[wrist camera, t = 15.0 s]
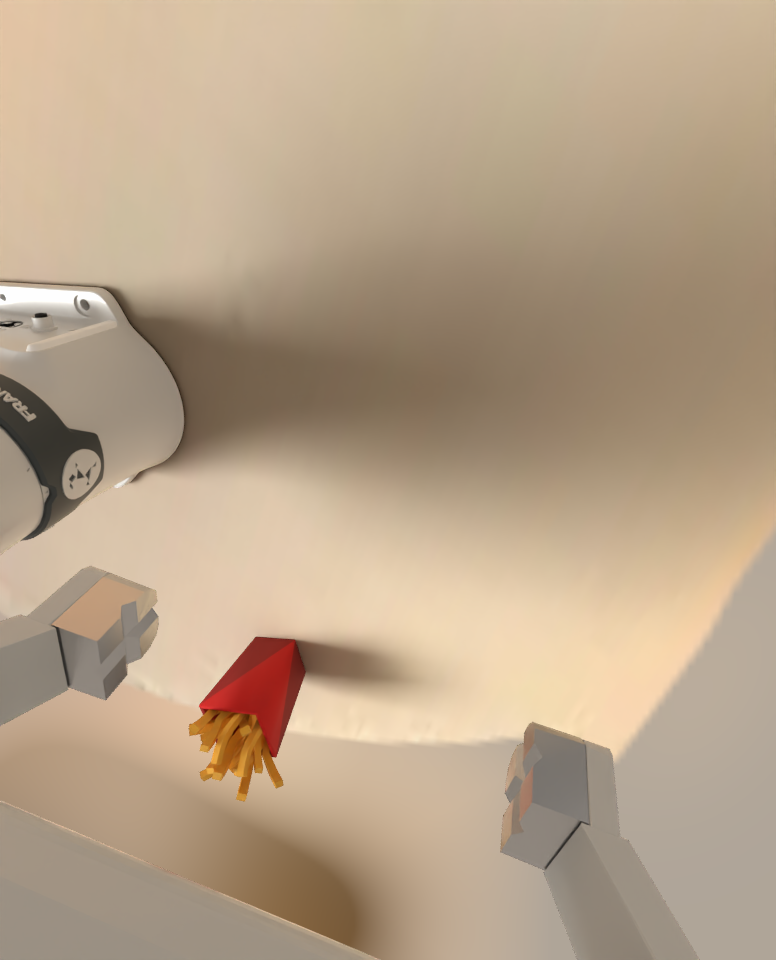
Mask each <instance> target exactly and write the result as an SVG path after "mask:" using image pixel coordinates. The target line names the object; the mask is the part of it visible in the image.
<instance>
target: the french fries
mask: <svg viewBox="0 0 776 960" xmlns="http://www.w3.org/2000/svg"><path fill="white" fill-rule="evenodd" d="M305 673H306V671H305V668H304V665H303V662H302V659H301V656H300V653H299V650H298V647H297V644H296V641H295V640H291V639H277V638H263V637H255V638H254V640H253V641H252V642H251V643H250V644H249V646H248V647H247V648H246V649H245V650H244V652H243V653H242V654H241V655H240V656H239V658H238V659H237V660H236V661H235V662H234V664H233V665H232V666H231V667H230V669H229V670H228V671H227V672H226V673H225V675H224V676H223V677H222V678H221V679H220V681H219V682H218V683H217V684H216V685H215V687H214V688H213V689H212V690H211V691H210V693H209V694H208V695H207V696H206V697H205V699H204V700H203V701H202V702H201V703H200V705H199V707H200V709H201V711H202V713H203V716H202V717H201V718H200V719H199V720H197V721H196V722H194V723H193V724H190V725H189V734H190V736H191V735H197V734H201V741H202V744H201V747H200V751H204V752H208V751H209V750H210V749H211V748H212V746H213V745H214V743H215V742H216V746H215V749H214V753H213V757H212V761H211V762H210V764H209V765H208V766H207V768H206V769H205V770H203V771H201V772H200V776H201V779H202V780H203V781H205V780H207V779H209V778H211V777H212V779H215V780H220V781H221V780H222V778H223V777H224V775H225V773H226V772H227V770H228V768H229V769H230V770H231V772H232V773H234V775H235V776H237V777H242V778H241V782H240V786H239V790H238V794H237V798H236V799H237V800H240V801H245V799H246V796H247V793H248V788H249V783H250V779H251V774H252V770H253V765H254V770H255V773H262V771H263V765H262V757H263V760H264V763H265V765H266V768H267V770H268V773H269V776H270V777H271V780H272V782H273V784H274V786H275V788H278V787H281V786H283V780H282V778H281V776H280V775H279V773H278V771H277V769H276V767H275V764H274V762H273V760H272V757H277V754H278V751H279V748H280V745H281V742H282V739H283V736H284V733H285V731H286V728H287V725H288V722H289V719H290V716H291V713H292V710H293V707H294V705H295V702H296V699H297V696H298V693H299V690H300V687H301V684H302V681H303V679H304V676H305ZM203 733H204V734H203Z"/></svg>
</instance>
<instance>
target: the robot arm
mask: <svg viewBox="0 0 776 960" xmlns="http://www.w3.org/2000/svg"><path fill="white" fill-rule="evenodd" d="M87 302H88V303H89V306H90V307H89V306H88V304H87ZM183 429H184V411H183V405H182V400H181V396H180V393H179V390H178V388H177V385H176V383H175V381H174V378H173V376H172V375H171V373H170V371H169V369H168V368H167V366H166V364H165V363H164V361H163V360H162V359H161V357H160V356H159V355H158V354H157V352H156V351H155V350H154V349H153V348H152V347H151V346H150V345H149V344H148V343H147V342H146V341H145V340H144V339H143V338H142V337H141V336H140V335H139V334H138V333H137V332H136V331H135V330H134V329H133V327H132V326H131V325H130V324H129V322H128V320H127V318H126V316H125V315H124V313H123V311H122V309H121V308H120V306H119V304H118V303H117V301H116V300H115V298H114V297H113V296H112V295H111V294H110V293H109V292H108V291H107V290H105V289H103V288H99V287H82V286H65V285H48V284H30V283H13V282H0V555H1V554H3V553H4V552H5V551H7V550H8V549H9V548H11V547H12V546H14V545H15V544H16V543H18V542H19V541H22V540H28V539H31V538H34V537H36V536H37V535H39V534H41V533H42V532H44V531H46V530H48V529H50V528H51V527H53V526H54V524H56V523H57V522H58V521H60V520H61V519H63V518H64V517H65V516H67V515H68V514H70V513H71V512H72V511H74V510H75V509H76V508H77V507H78V506H79V505H81V504H83V503H85V502H87V501H88V500H90V499H92V498H94V497H96V496H97V495H99V494H101V493H103V492H104V491H106V490H108V489H110V488H111V487H115V488H120V487H122V486H124V485H126V484H128V483H129V482H131V481H132V480H133V479H134V478H135V476H136V475H137V474H138V473H139V472H141V471H143V470H145V469H148V468H150V467H153V466H155V465H158V464H160V463H162V462H164V461H165V460H167V459H168V458H169V457H170V456H171V455H172V454H173V453H174V452H175V450H176V449H177V447H178V445H179V443H180V441H181V438H182V434H183ZM156 603H157V594H156V590H153V589H151V588H148V587H145V586H143V585H140V584H138V583H135V582H132V581H130V580H127V579H125V578H122V577H119V576H117V575H114V574H112V573H109V572H106V571H103V570H101V569H98V568H95V567H92V566H89V567H87V568H84V569H82V570H80V571H79V572H78V573H77V574H76V575H75V576H73V577H72V578H71V579H70V580H69V581H68V582H66V583H65V584H64V585H63V586H62V587H61V588H59V589H58V590H57V591H56V592H55V593H54V594H52V595H51V596H50V597H49V598H48V599H47V600H45V601H44V602H43V603H42V604H41V605H40V606H38V607H37V608H36V609H35V610H34V611H33V612H31V613H30V614H29V615H28V616H27V617H26V616H23V615H18V616H15V617H12V618H9V619H6V620H3V621H0V726H1V725H3V724H5V723H7V722H9V721H11V720H13V719H14V718H16V717H18V716H20V715H22V714H24V713H26V712H28V711H29V710H31V709H33V708H35V707H37V706H39V705H41V704H43V703H44V702H46V701H48V700H50V699H52V698H54V697H56V696H57V695H60V694H61V693H63V692H65V691H67V690H68V687H69V688H72V689H75V690H77V691H80V692H83V693H86V694H89V695H92V696H95V697H97V698H100V699H104V700H107V698H108V697H109V696H110V695H111V694H112V692H113V691H114V690H115V689H116V688H117V687H118V685H119V684H120V683H121V682H122V681H123V679H124V678H125V677H126V676H127V667H128V664H129V663H131V662H134V661H136V660H138V659H141V658H142V657H143V655H144V654H145V653H146V652H147V650H148V649H149V648H150V646H151V644H152V642H153V640H154V638H155V636H156V634H157V629H158V625H159V624H158V615H157V614H156V613H155V611H154V610H153V608H152V607H153V606H154V605H155V604H156ZM505 794H506V796H507V798H508V800H509V802H510V805H509V807H508V809H507V811H506V812H505V814H504V815H503V824H502V837H501V851H500V852H502V853H504V854H506V855H509V856H511V857H514V858H516V859H518V860H521V861H523V862H526V863H528V864H531V865H533V866H535V867H538V868H540V869H542V870H545V872H544V875H545V877H546V880H547V882H548V885H549V888H550V890H551V893H552V896H553V898H554V900H555V903H556V906H557V909H558V911H559V914H560V916H561V919H562V922H563V924H564V926H565V929H566V932H567V934H568V937H569V940H570V942H571V945H572V947H573V950H574V953H575V955H576V958H577V960H700V959H699V957H698V956H697V954H696V952H695V951H694V949H693V947H692V946H691V944H690V942H689V941H688V939H687V938H686V936H685V934H684V932H683V931H682V929H681V927H680V926H679V924H678V922H677V921H676V919H675V917H674V916H673V914H672V912H671V911H670V909H669V907H668V906H667V904H666V902H665V900H664V899H663V897H662V895H661V894H660V892H659V891H658V889H657V887H656V885H655V884H654V882H653V880H652V879H651V877H650V875H649V874H648V872H647V870H646V869H645V867H644V865H643V864H642V862H641V861H640V859H639V857H638V855H637V854H636V852H635V850H634V849H633V847H632V845H631V844H630V842H629V840H627V839H624V838H622V837H620V827H619V817H618V807H617V797H616V787H615V777H614V766H613V756H612V753H611V751H610V749H608V748H606V747H603V746H600V745H597V744H594V743H591V742H588V741H585V740H582V739H581V738H579V737H576V736H573V735H570V734H567V733H564V732H561V731H558V730H555V729H552V728H549V727H546V726H543V725H540V724H537V723H534V722H532V723H530V724H529V725H528V727H527V728H526V730H525V732H524V743H522V744H519V745H517V747H516V749H515V751H514V753H513V755H512V758H511V761H510V764H509V768H508V773H507V779H506V788H505ZM0 960H380V959H378V958H375V957H373V956H370V955H368V954H366V953H363V952H361V951H359V950H356V949H354V948H351V947H349V946H346V945H344V944H342V943H339V942H337V941H335V940H332V939H330V938H328V937H325V936H322V935H320V934H318V933H316V932H313V931H311V930H308V929H306V928H304V927H301V926H299V925H296V924H294V923H292V922H289V921H287V920H285V919H282V918H280V917H277V916H275V915H273V914H270V913H268V912H266V911H263V910H261V909H258V908H256V907H254V906H251V905H249V904H247V903H244V902H242V901H239V900H237V899H235V898H232V897H230V896H227V895H225V894H223V893H220V892H218V891H216V890H213V889H211V888H208V887H206V886H203V885H201V884H199V883H196V882H194V881H191V880H189V879H187V878H185V877H182V876H180V875H177V874H175V873H173V872H170V871H168V870H165V869H163V868H161V867H158V866H156V865H154V864H151V863H149V862H146V861H144V860H141V859H139V858H137V857H134V856H132V855H130V854H127V853H125V852H122V851H120V850H118V849H115V848H113V847H111V846H108V845H106V844H103V843H101V842H99V841H96V840H94V839H91V838H89V837H87V836H84V835H82V834H80V833H77V832H75V831H72V830H70V829H68V828H65V827H63V826H60V825H58V824H56V823H53V822H50V821H48V820H46V819H44V818H41V817H39V816H37V815H34V814H32V813H30V812H27V811H25V810H22V809H20V808H18V807H15V806H13V805H10V804H8V803H6V802H3V801H1V800H0Z"/></svg>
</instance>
